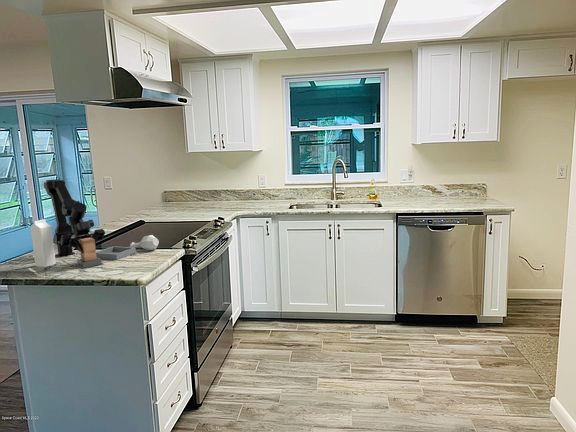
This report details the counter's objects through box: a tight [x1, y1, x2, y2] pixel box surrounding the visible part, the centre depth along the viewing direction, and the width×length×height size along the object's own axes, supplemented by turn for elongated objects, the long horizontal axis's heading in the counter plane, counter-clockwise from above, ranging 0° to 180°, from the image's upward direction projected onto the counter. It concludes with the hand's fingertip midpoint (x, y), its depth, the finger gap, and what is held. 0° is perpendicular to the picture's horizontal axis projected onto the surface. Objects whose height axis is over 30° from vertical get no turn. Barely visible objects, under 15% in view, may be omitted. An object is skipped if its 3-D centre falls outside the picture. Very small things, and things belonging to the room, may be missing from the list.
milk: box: [30, 218, 57, 268], centre depth 200 cm, size 6×6×22 cm
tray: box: [96, 245, 137, 261], centre depth 215 cm, size 14×14×4 cm
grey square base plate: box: [74, 257, 105, 270], centre depth 199 cm, size 10×10×3 cm
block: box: [79, 238, 97, 262], centre depth 198 cm, size 5×5×12 cm
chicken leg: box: [129, 234, 160, 252], centre depth 229 cm, size 8×18×8 cm, turn 65°
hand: (89, 251), depth 197 cm, fingers closed on block, 5 cm apart
